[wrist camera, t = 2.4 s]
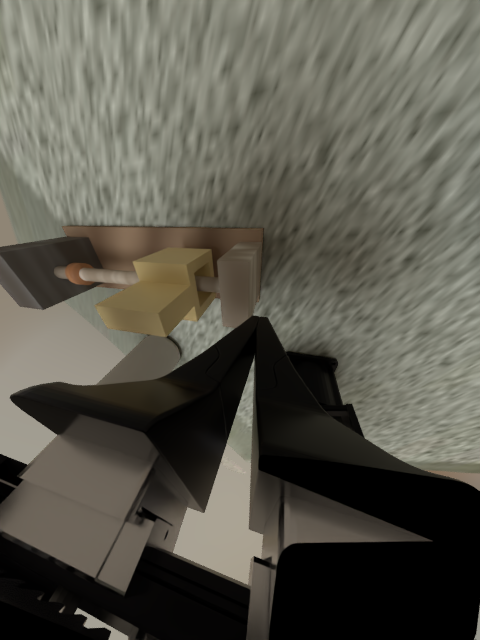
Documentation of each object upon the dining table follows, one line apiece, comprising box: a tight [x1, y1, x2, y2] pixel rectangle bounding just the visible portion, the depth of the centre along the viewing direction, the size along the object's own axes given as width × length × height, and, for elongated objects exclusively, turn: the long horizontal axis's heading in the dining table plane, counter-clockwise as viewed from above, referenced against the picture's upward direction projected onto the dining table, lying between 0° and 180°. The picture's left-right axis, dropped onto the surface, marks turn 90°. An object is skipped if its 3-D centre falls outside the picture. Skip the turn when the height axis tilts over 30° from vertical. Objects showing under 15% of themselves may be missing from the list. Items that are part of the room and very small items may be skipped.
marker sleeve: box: [94, 248, 216, 337], centre depth 13 cm, size 4×4×8 cm
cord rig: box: [0, 226, 264, 328], centre depth 16 cm, size 22×7×8 cm, turn 91°
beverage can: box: [97, 335, 180, 385], centre depth 23 cm, size 6×6×12 cm
